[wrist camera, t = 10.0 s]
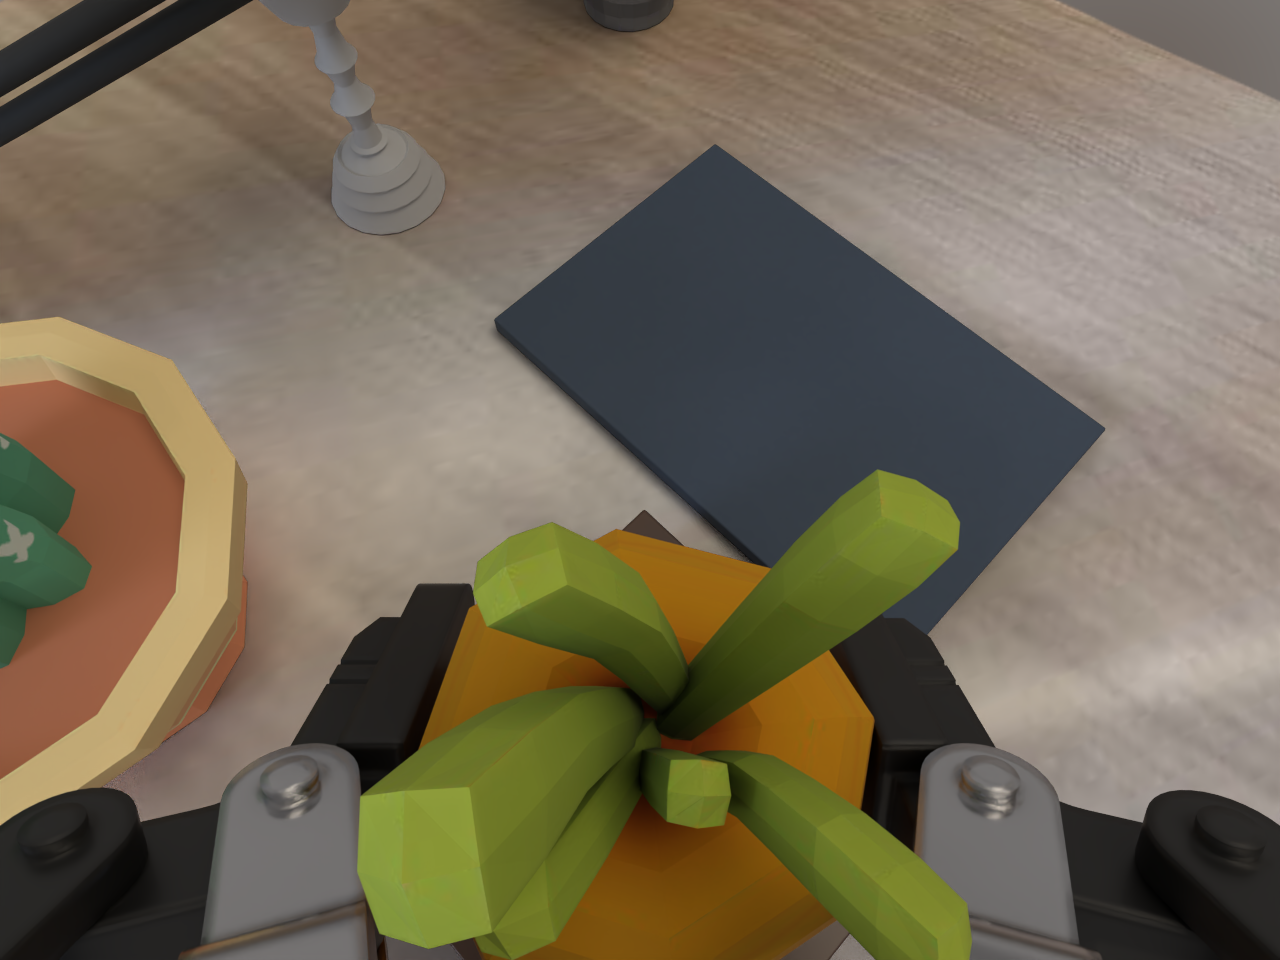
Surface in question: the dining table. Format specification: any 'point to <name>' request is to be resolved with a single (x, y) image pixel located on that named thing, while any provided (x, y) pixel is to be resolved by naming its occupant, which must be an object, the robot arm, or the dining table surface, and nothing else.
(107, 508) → the potted cactus
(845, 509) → the carrot
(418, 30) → the dining table surface
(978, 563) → the mat
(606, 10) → the beverage cup
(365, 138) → the chalice
